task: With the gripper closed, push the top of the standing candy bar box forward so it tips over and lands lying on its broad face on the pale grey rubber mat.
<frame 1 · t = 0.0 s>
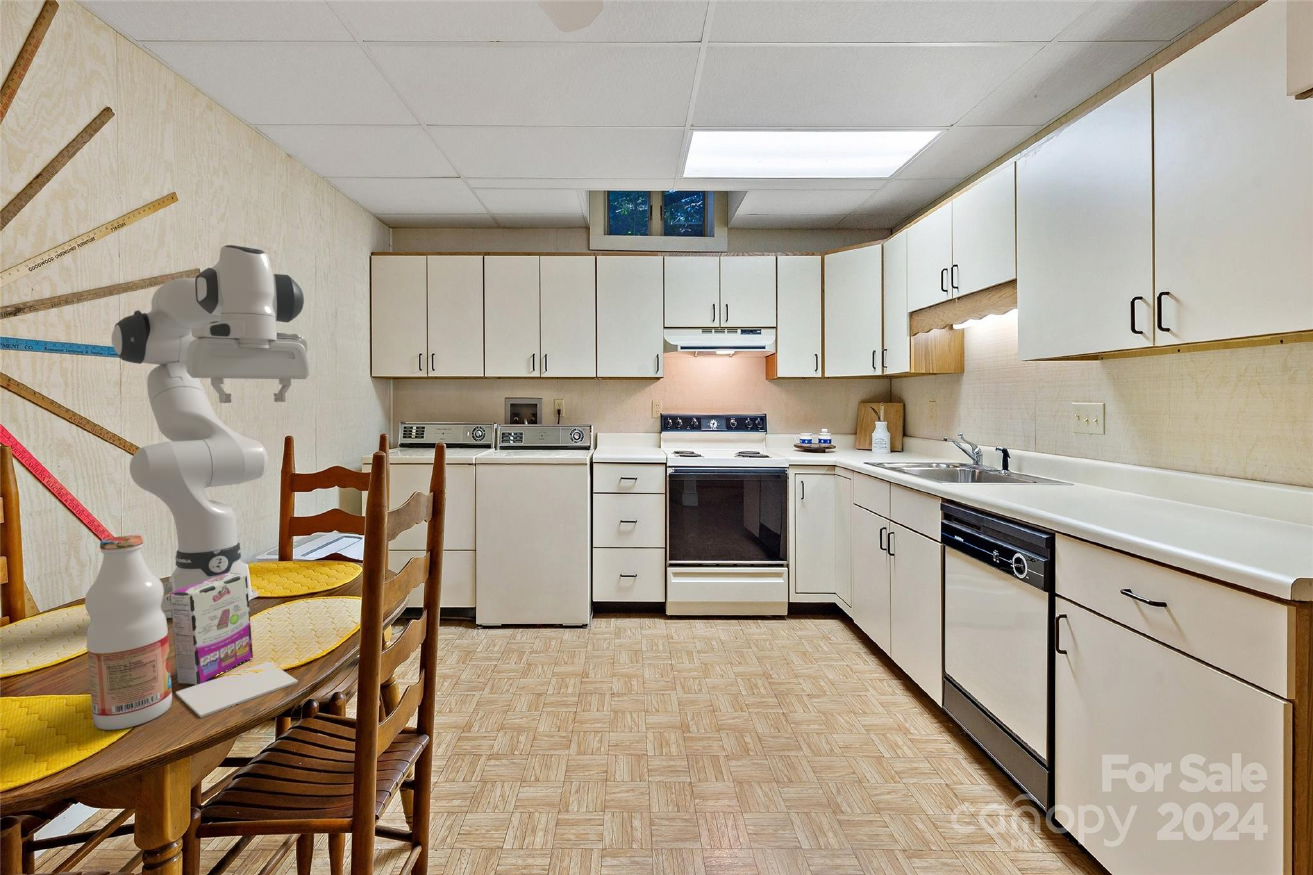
hand: (253, 402, 119), 48 cm above the table, tool pointing down, fingers open, 8 cm apart
candy bar box: (216, 672, 109), on the table
fruit juice: (134, 716, 94), on the table
mat: (238, 688, 103), on the table
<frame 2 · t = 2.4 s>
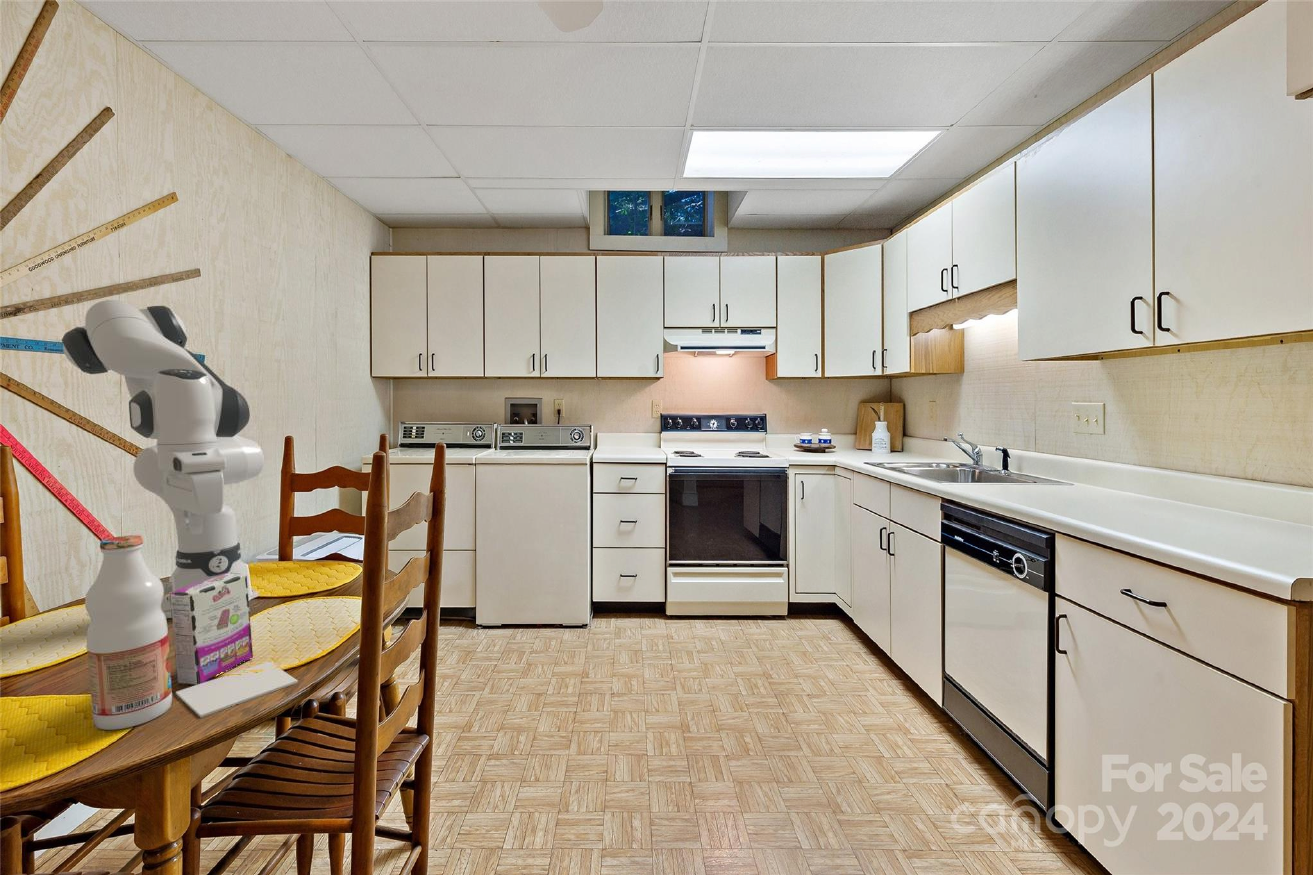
hand: (194, 533, 112), 24 cm above the table, tool pointing down, fingers closed
nothing on the table moved.
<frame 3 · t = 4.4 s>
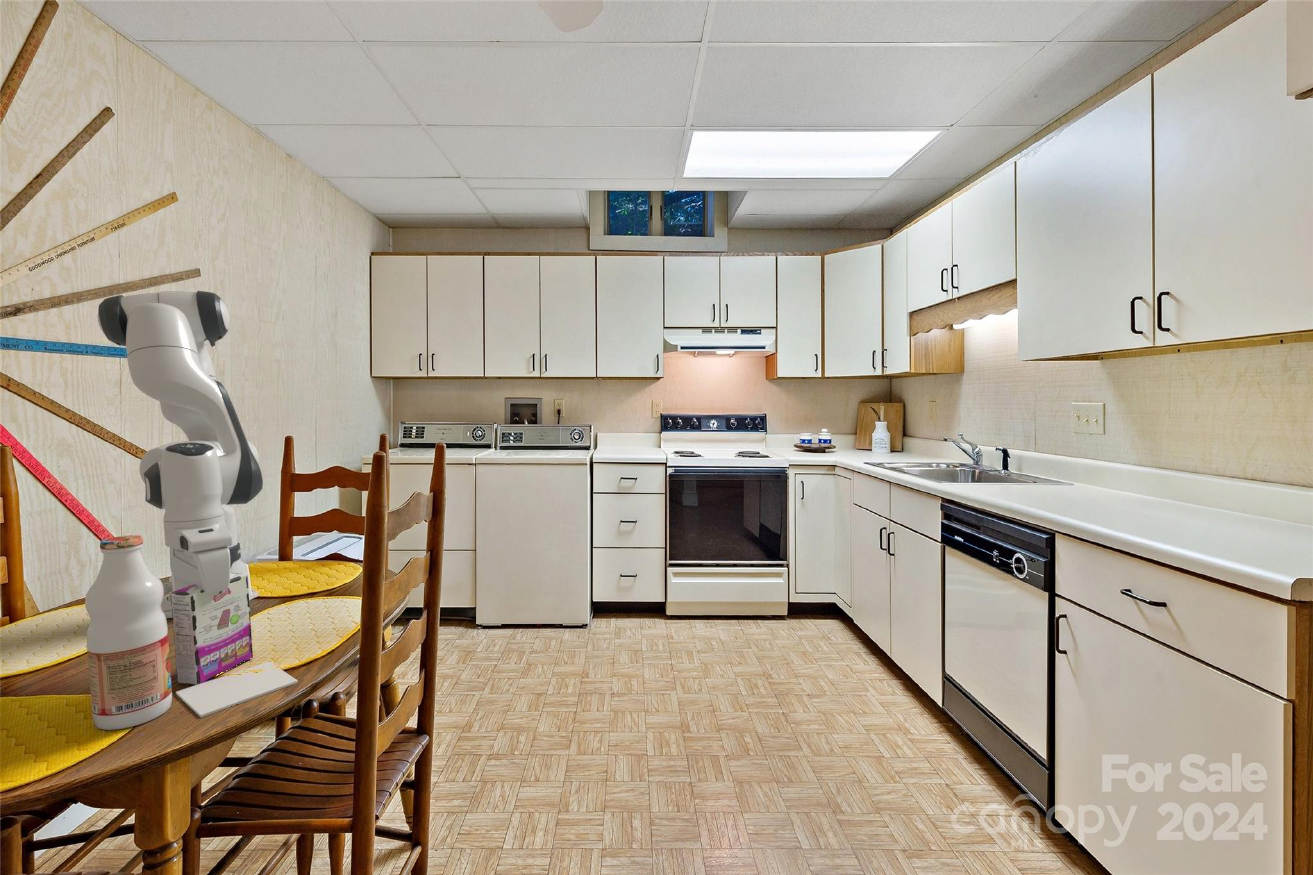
hand: (200, 606, 111), 11 cm above the table, tool pointing down, fingers closed
candy bar box: (216, 671, 109), on the table, touching gripper
everything else where it was.
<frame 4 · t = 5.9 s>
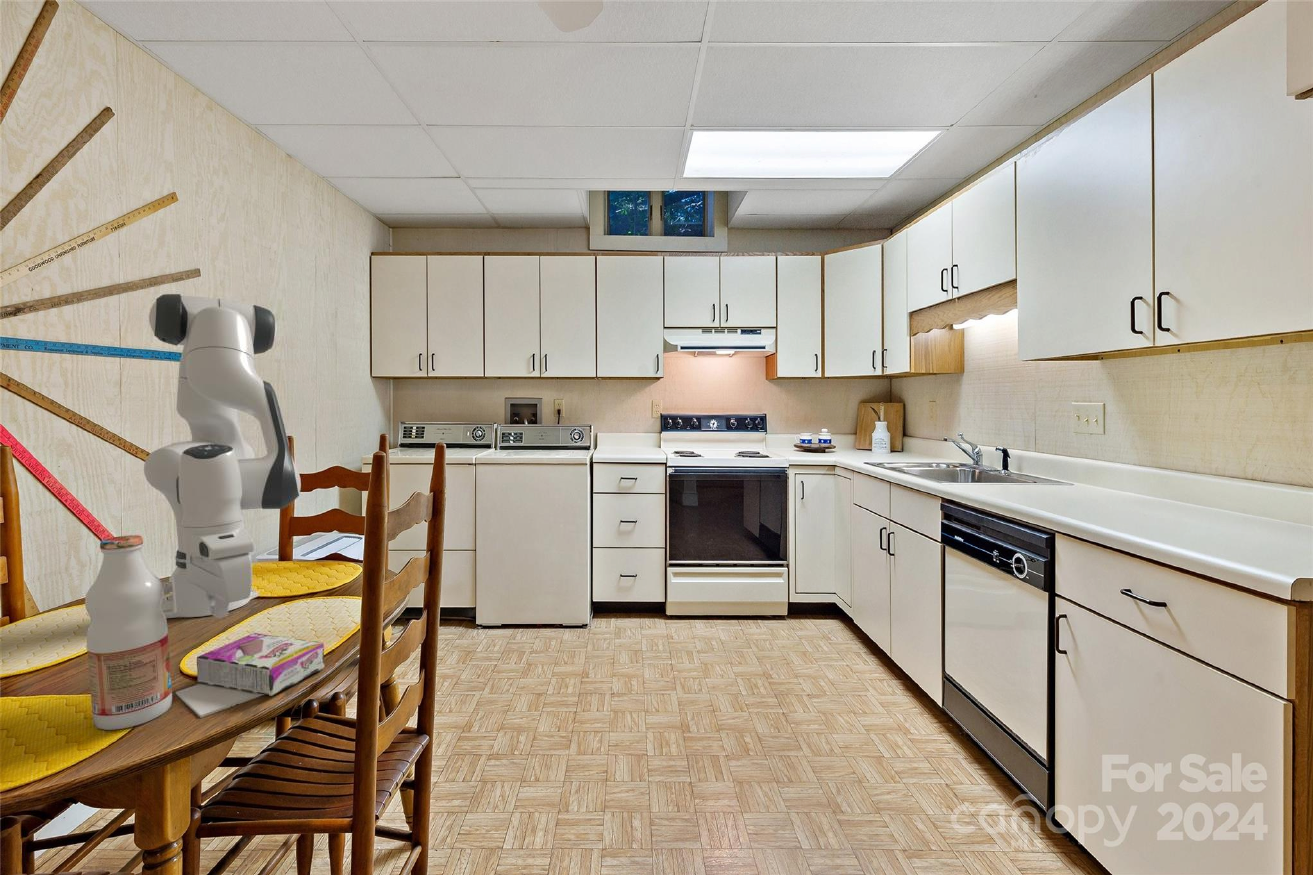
hand: (219, 615, 107), 11 cm above the table, tool pointing down, fingers closed
candy bar box: (225, 655, 109), point 3 cm above the table, touching mat
everything else where it was.
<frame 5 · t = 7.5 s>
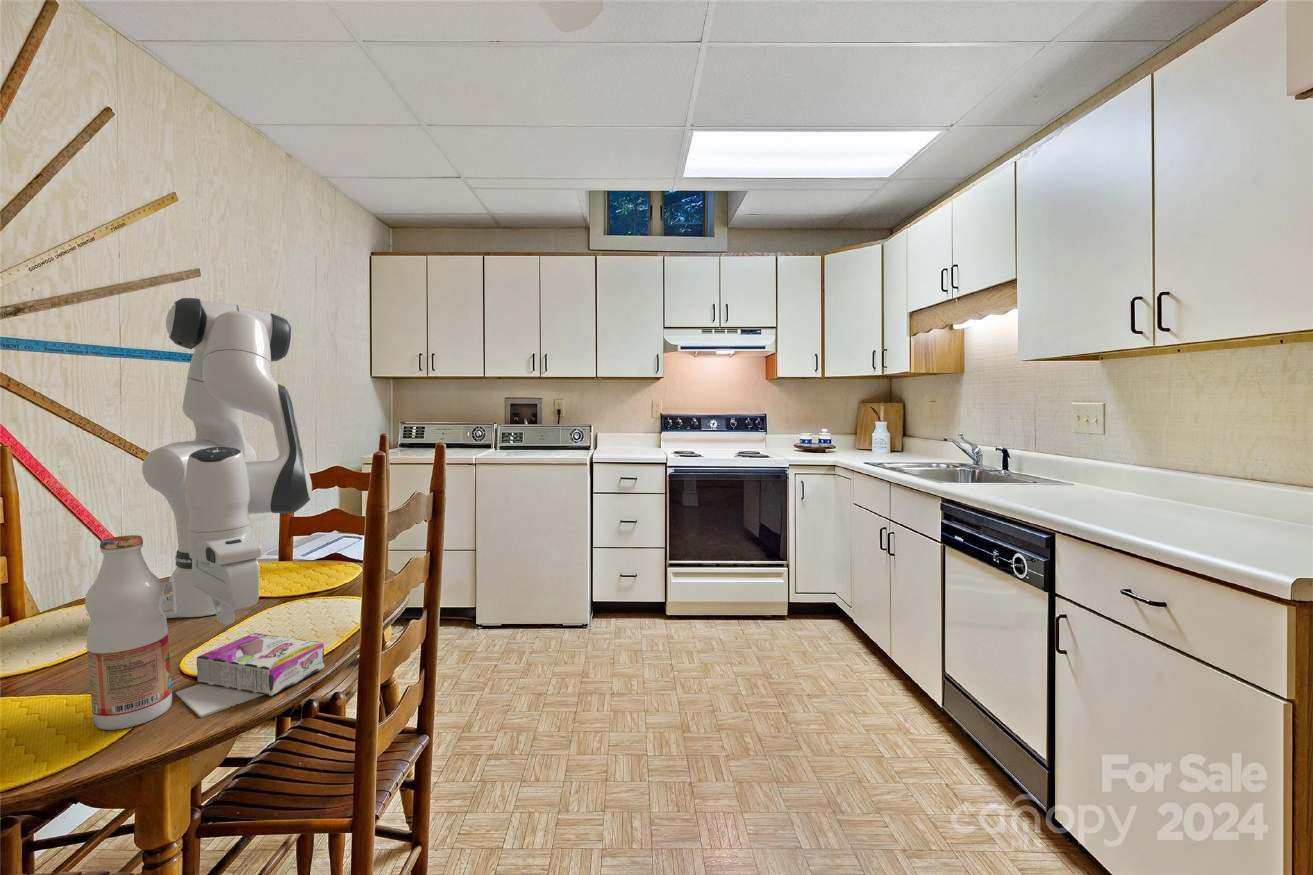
hand: (225, 622, 104), 11 cm above the table, tool pointing down, fingers closed
nothing on the table moved.
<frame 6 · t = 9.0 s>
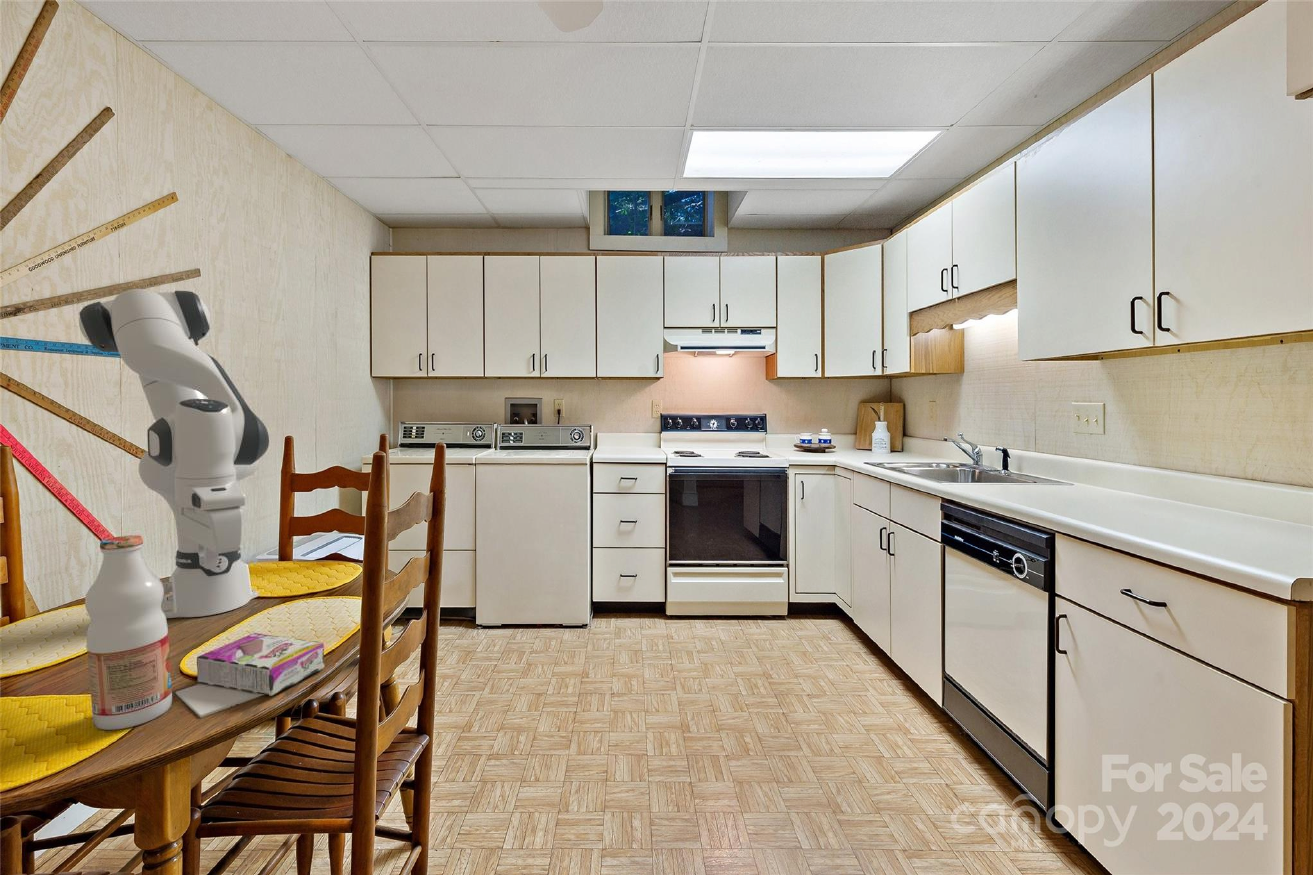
hand: (208, 566, 109), 19 cm above the table, tool pointing down, fingers closed
nothing on the table moved.
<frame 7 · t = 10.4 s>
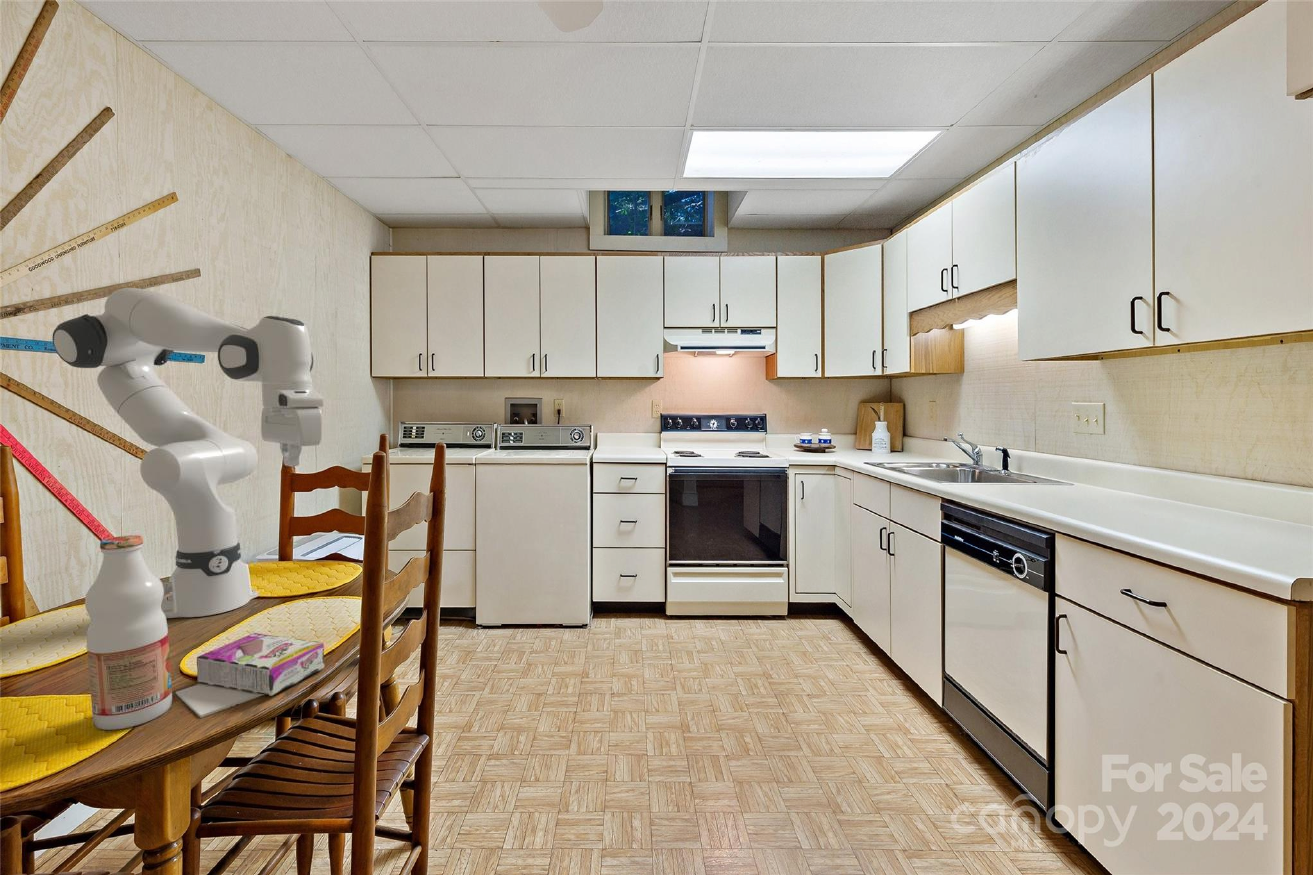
hand: (291, 465, 123), 35 cm above the table, tool pointing down, fingers closed
nothing on the table moved.
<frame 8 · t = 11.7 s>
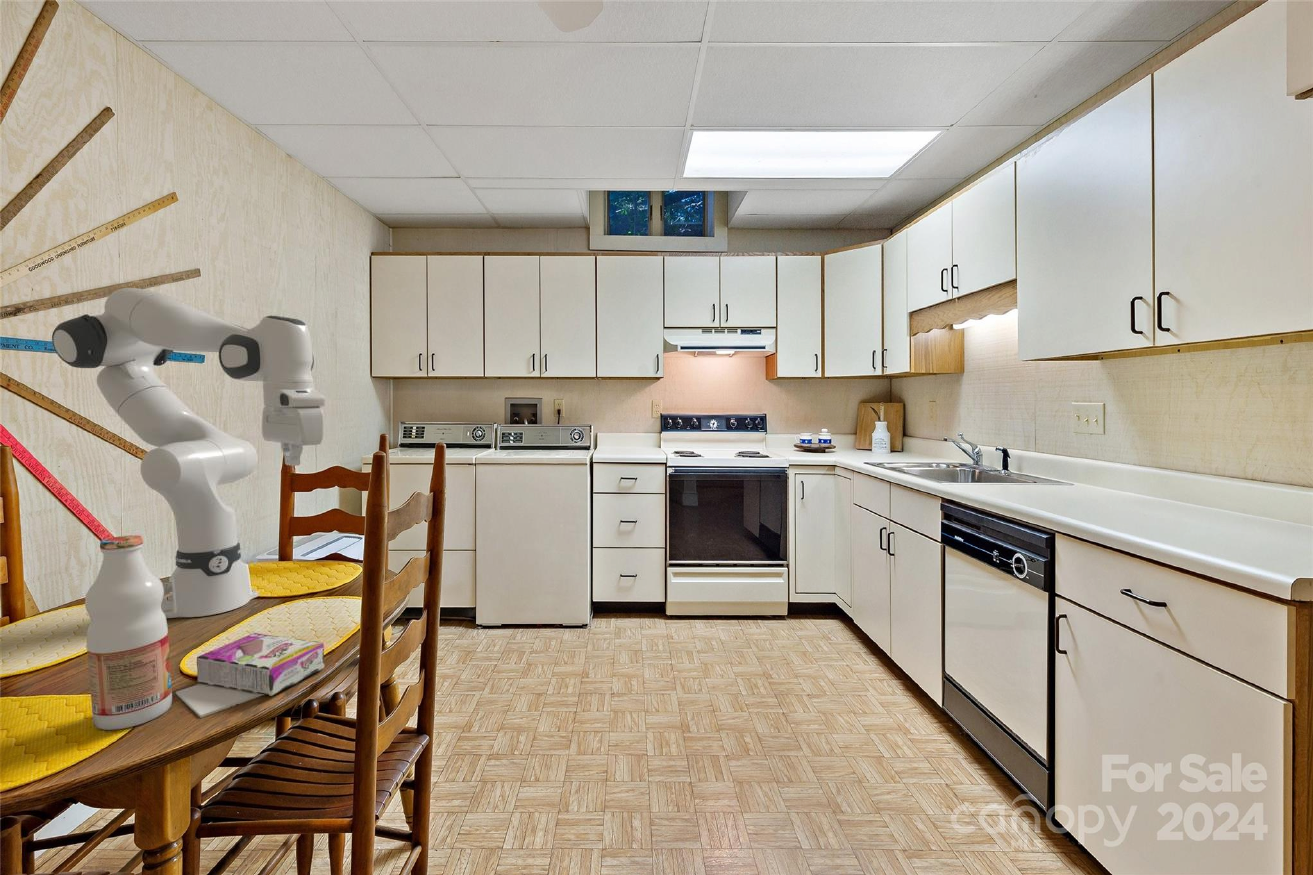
hand: (292, 465, 124), 35 cm above the table, tool pointing down, fingers closed
nothing on the table moved.
at the end: candy bar box tilted 91°; candy bar box inside the target area (3.4 cm from its centre), point 2.9 cm above the table; the gripper is holding nothing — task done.
